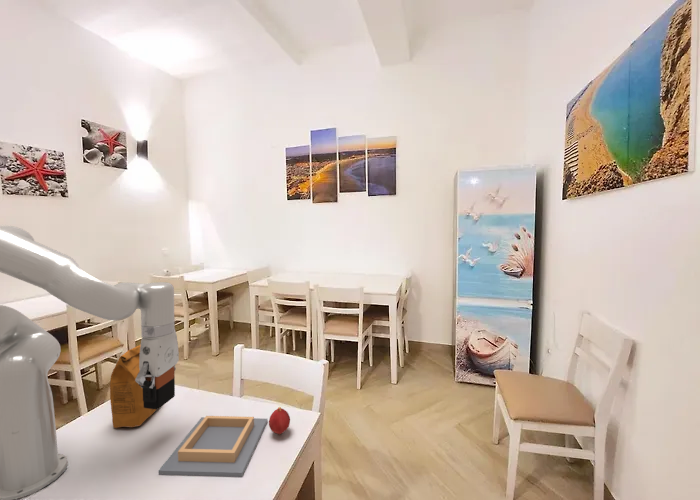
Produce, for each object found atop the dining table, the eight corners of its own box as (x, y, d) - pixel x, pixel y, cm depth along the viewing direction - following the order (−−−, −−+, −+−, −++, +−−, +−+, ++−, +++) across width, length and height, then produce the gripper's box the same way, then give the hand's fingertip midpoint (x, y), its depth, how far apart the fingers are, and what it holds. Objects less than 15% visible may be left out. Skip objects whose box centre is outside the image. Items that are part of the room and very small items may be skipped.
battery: (175, 396, 87) (175, 362, 86) (157, 410, 80) (156, 373, 80) (161, 394, 88) (161, 360, 87) (142, 408, 81) (141, 371, 80)
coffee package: (168, 405, 101) (164, 340, 99) (139, 431, 88) (134, 357, 86) (139, 404, 101) (134, 339, 99) (106, 429, 89) (100, 356, 87)
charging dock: (158, 474, 73) (157, 460, 73) (201, 420, 93) (201, 409, 93) (242, 476, 73) (241, 462, 72) (267, 421, 93) (267, 410, 92)
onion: (267, 430, 89) (266, 404, 88) (286, 424, 91) (286, 398, 91) (272, 443, 84) (271, 415, 83) (292, 436, 86) (292, 409, 85)
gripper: (150, 341, 74) (151, 413, 75) (190, 319, 91) (190, 378, 92) (119, 340, 74) (121, 411, 75) (165, 318, 91) (166, 377, 93)
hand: (159, 392), depth 84 cm, fingers closed on battery, 7 cm apart
